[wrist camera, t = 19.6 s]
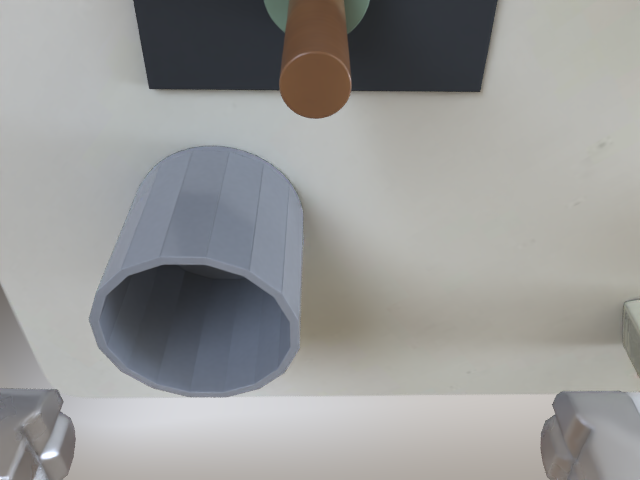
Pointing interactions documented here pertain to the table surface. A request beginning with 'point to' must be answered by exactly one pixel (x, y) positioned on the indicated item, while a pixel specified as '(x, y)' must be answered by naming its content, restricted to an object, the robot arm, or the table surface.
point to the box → (632, 332)
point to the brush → (316, 52)
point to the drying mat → (363, 41)
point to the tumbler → (205, 276)
